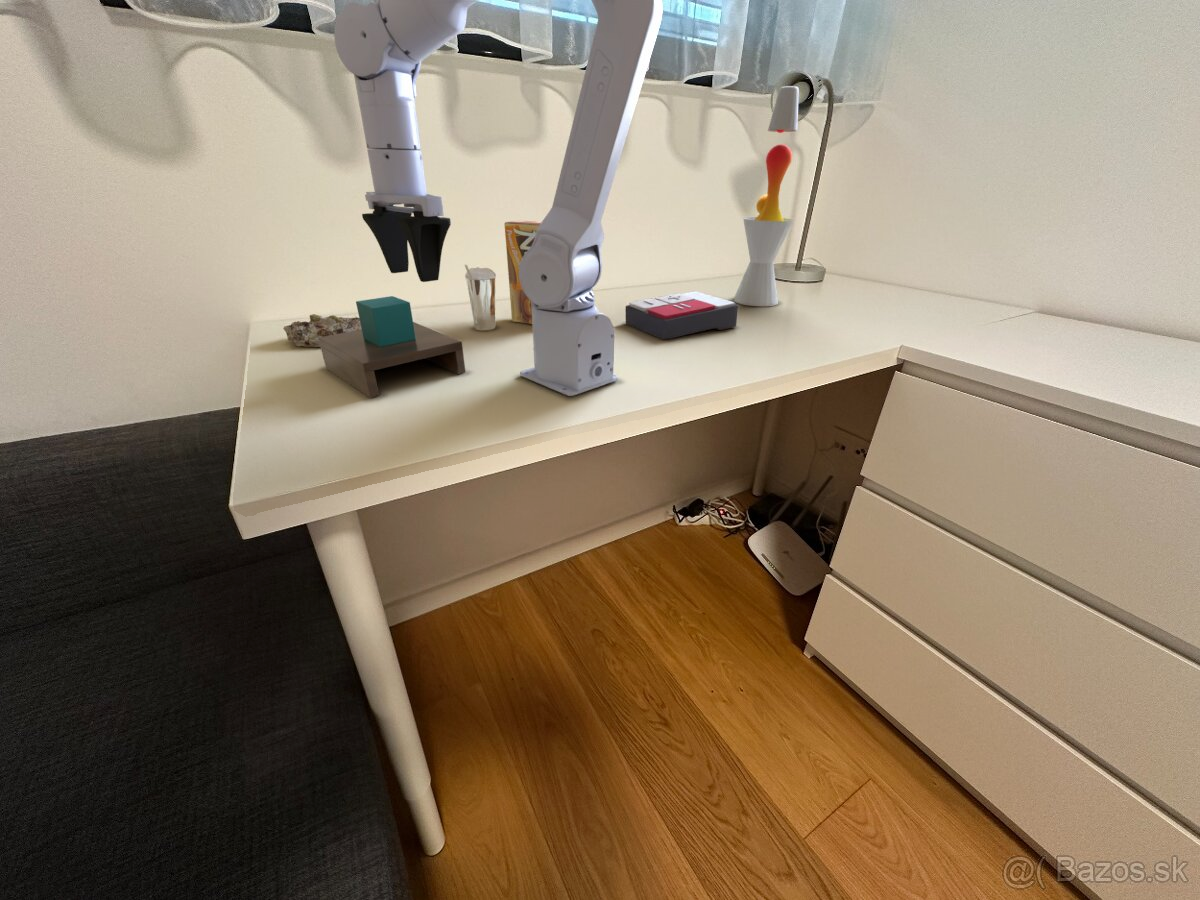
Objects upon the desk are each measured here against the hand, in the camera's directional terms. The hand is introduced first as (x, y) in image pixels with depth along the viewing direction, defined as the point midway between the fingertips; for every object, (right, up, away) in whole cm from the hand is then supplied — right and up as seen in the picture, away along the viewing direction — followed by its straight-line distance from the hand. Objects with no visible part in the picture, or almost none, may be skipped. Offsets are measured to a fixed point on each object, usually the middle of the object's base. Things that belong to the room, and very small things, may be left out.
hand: (414, 276), depth 64 cm
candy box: (+13, -1, +21) cm, 25 cm away
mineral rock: (-16, -6, +11) cm, 21 cm away
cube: (-2, -8, -2) cm, 9 cm away
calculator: (+37, -1, +21) cm, 42 cm away
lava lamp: (+54, +8, +38) cm, 67 cm away
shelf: (-2, -12, 0) cm, 12 cm away
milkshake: (+5, -2, +18) cm, 18 cm away
